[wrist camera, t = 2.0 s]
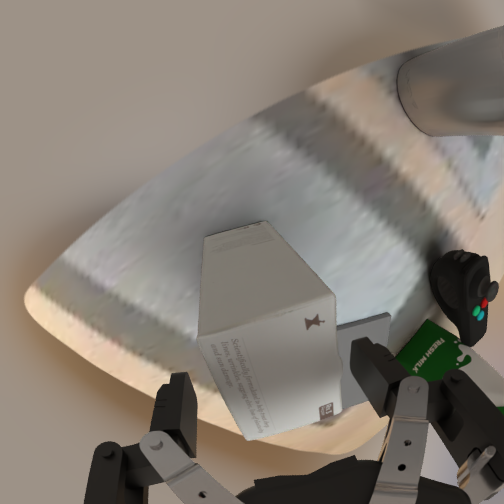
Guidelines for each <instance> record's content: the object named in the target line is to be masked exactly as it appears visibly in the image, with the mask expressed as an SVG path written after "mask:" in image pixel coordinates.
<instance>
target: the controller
mask: <svg viewBox="0 0 504 504" xmlns="http://www.w3.org/2000/svg"><path fill="white" fill-rule="evenodd" d="M431 286H432V290H433V293H434V295H435V298H436V300H437V302H438V304H439V306H440V307H441V309H442V311H443V312H444V313H445V315H446V316H447V317H448V319H449V320H450V321H451V322H453V323H454V324H455V326H456V327H457V329H458V331H459V335H460V340H461V342H462V343H463V344H465V345H467V346H468V347H472V346H474V345H475V344H476V343H477V342H478V341H479V340H480V339H481V338H482V337H483V336H484V334H485V333H486V329H487V317H488V316H487V315H488V302H491V301H492V300H494V298H495V297H496V295H497V293H498V288H499V285H498V282H496V281H493V282H490V272H489V262H488V258H487V257H486V256H482V257H481V256H479V255H478V254H476V253H471V252H465V251H464V250H463V249H462V250H454V251H450V252H448V253H446V254H445V255H443V256H442V257H441V258H440V259H439V260H438V261H437V262H436V263H435V264H434V266H433V268H432V271H431Z"/></svg>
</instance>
